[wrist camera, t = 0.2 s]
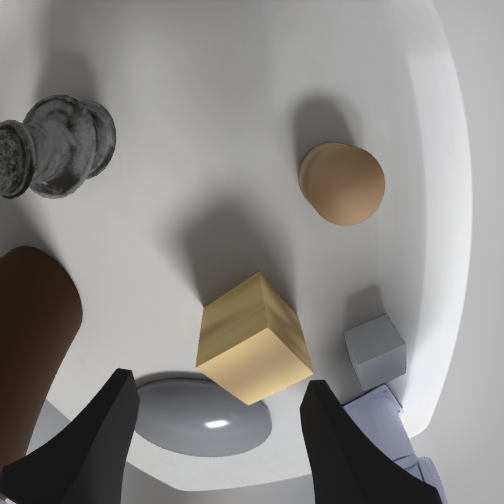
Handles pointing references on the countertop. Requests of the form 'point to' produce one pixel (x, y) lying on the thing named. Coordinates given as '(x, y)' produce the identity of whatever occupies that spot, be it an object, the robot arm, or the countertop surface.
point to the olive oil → (31, 341)
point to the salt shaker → (55, 147)
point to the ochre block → (252, 342)
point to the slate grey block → (376, 352)
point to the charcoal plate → (199, 418)
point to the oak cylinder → (342, 182)
